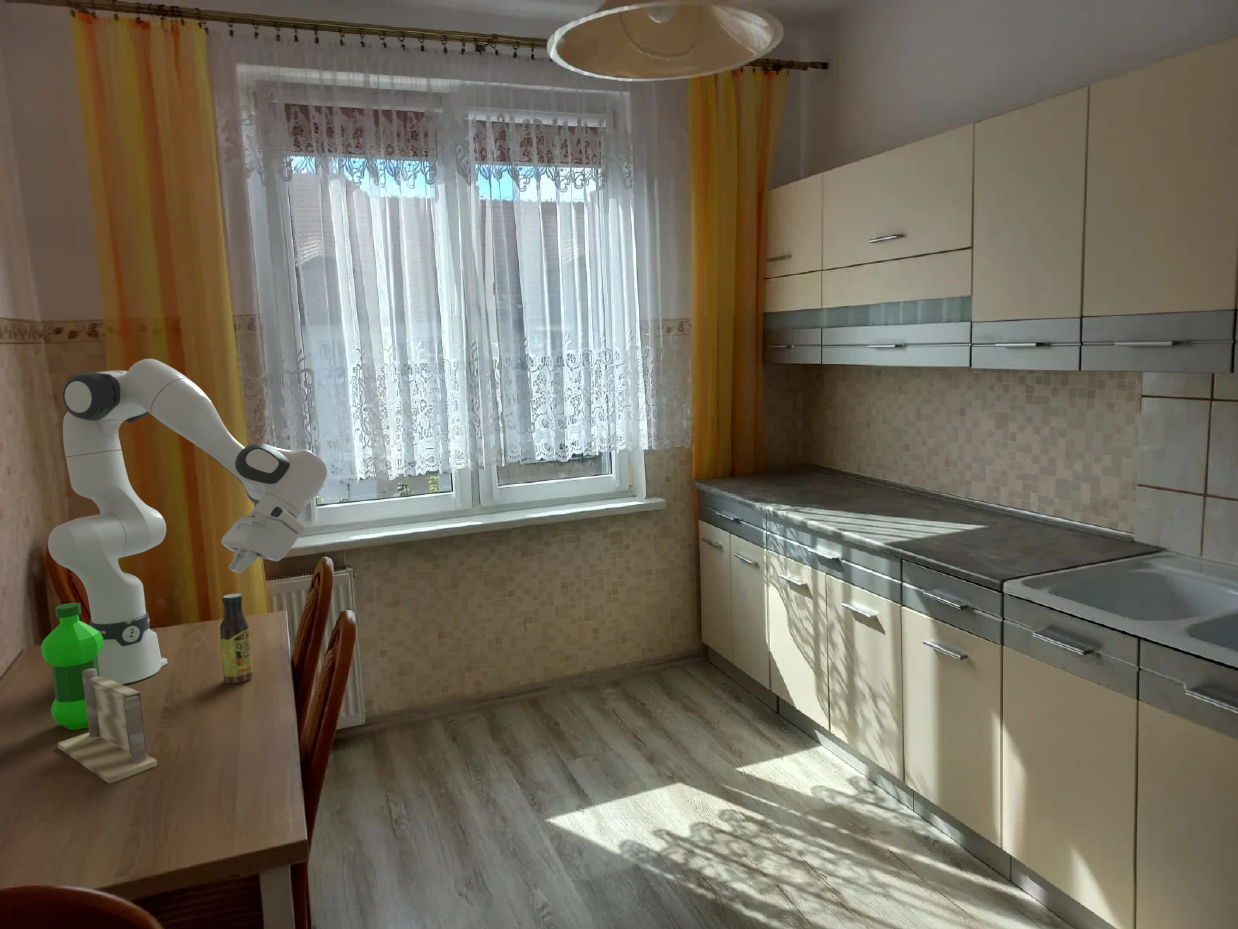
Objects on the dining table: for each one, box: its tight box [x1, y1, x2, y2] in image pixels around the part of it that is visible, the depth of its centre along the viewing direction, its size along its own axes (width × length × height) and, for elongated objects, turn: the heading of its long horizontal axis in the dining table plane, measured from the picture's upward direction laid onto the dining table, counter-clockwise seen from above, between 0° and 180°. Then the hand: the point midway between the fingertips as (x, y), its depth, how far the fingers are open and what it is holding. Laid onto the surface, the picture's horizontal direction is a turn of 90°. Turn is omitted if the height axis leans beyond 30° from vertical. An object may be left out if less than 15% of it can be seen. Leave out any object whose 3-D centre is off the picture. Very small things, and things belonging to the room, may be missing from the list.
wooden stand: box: [57, 668, 158, 785], centre depth 156 cm, size 24×8×14 cm, turn 52°
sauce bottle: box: [219, 593, 254, 684], centre depth 192 cm, size 7×6×20 cm
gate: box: [89, 676, 147, 754], centre depth 158 cm, size 16×2×12 cm, turn 55°
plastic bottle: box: [40, 602, 103, 731], centre depth 170 cm, size 10×10×25 cm
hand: (234, 571), depth 174 cm, fingers closed
